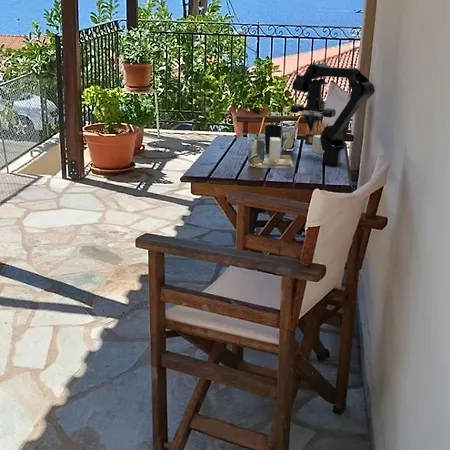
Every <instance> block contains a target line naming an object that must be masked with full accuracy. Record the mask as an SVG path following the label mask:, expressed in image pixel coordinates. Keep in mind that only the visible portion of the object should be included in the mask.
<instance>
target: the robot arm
mask: <svg viewBox="0 0 450 450" xmlns="http://www.w3.org/2000/svg"><path fill="white" fill-rule="evenodd" d="M327 77H332V78H344V79H347V81H348V84H349V85H348V86H349V88H350V89H351V91H350V98H349V100H348V102H347V103H346V104H345V106H344V108H343V109H342V111H341V112H340V114H339V115H338V117H337V118H336V119H335V121H334V122H333V124H332V125H328V126H326V125H325V128H324V130H323V132H322V133H321V134H322V135H321V136H320V140H321V145H322V150H324V151H325V152H324V153H323V154H322V160H321V161H322V163H321V165H326V166H330V167H338V166H340V165H341V164H342V162H341V158H342V156H341V155H342V154H341V153H342V151H343V150H345V147H346V144H345V143H344V141H343V140H342V138H343V134H344V133H343V132H344V130H345V128H346V127H347V125H348V123H350V121H351V120H352V118H353V116H354V115H355V113H356V112H357V111H358V109H359V108H360V107H361V105H363V104H364V103H366V102H367V101H368V100H369V99H370V98H372V96H373V95H374V94H375V91H376V90H375V86H374V84H373V83H372V82H371V81H370V80H369V78H368V77H367V76H365V75H364V74H363V73H362V72H361V71H360V70H359V68H358V67H338V66H337V67H336V66H334V67H333V66H329V65H328V64H324V63H310V64H309V65H308V66H307V69H306V71H305V72H304V73H303V75H301V74H297V75H296V78H294V80H293V82H292V89H293V91H295V92H301V93H305V94H306V93H307V96H306V97H305V100H306V106H304V104H294V105H293V104H292V105H291V107H290V110H289V111H290V113H295V114H298V113H299V112H302V114H301V115H302V116H303V117H304V119H305V121H306V124H307V125H308V127H309V130H310V131H313V128H314V127H315V124H316V122H317V123H318V120H319V119H320V118H321V117H323V118H333V117H336V113H337V111H336V109H335V108H328V107H326V108H325V106H326V101H324V100H323V96H322V91H323V90H322V88H323V85H327V83H328V82H327V81H325V79H324V78H327Z"/></svg>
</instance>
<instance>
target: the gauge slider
mask: <svg viewBox="0 0 450 450" xmlns="http://www.w3.org/2000/svg"><path fill="white" fill-rule="evenodd" d="M281 143H282V140H281V138H277V137H270V147H269V154H268V155H269V161H270V162H274V163H277V162H279V161H280V155H281V147H282V146H281V145H282V144H281Z"/></svg>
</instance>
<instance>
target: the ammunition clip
mask: <svg viewBox="0 0 450 450" xmlns="http://www.w3.org/2000/svg"><path fill="white" fill-rule="evenodd" d="M326 126H329V120H328V121H327V122H325V120H323V121H321V120H319V122H318V121H317V122H316V124H315V126H314V128H313V131H310V130H309V127H308V124H307V126H306V133H305V141H304V145H306V146H312V144H313V136H314V135H322V134H321V133H322V132H323V130H324V128H325V127H326Z"/></svg>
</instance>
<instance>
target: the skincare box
mask: <svg viewBox="0 0 450 450" xmlns="http://www.w3.org/2000/svg"><path fill="white" fill-rule="evenodd" d="M320 136H321V135H314V136H313V144H312V145H311V152H313V153H316V154H319V155H321V154H322V155H323V153H324V152H325V151H324V150H322V145H321V140H320Z"/></svg>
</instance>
